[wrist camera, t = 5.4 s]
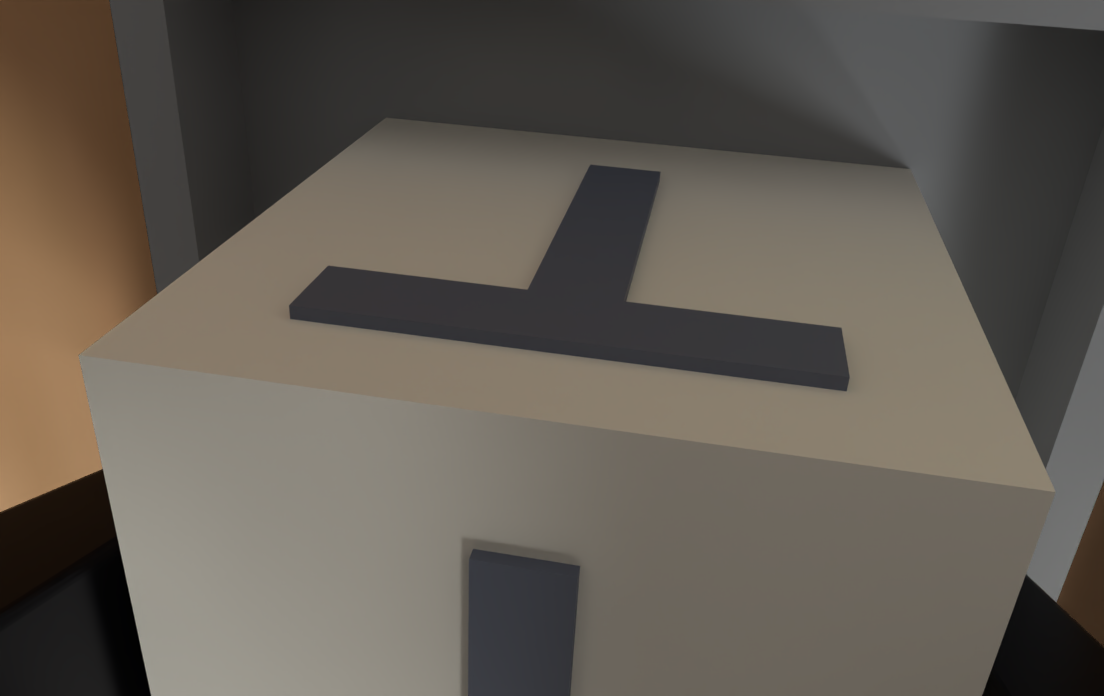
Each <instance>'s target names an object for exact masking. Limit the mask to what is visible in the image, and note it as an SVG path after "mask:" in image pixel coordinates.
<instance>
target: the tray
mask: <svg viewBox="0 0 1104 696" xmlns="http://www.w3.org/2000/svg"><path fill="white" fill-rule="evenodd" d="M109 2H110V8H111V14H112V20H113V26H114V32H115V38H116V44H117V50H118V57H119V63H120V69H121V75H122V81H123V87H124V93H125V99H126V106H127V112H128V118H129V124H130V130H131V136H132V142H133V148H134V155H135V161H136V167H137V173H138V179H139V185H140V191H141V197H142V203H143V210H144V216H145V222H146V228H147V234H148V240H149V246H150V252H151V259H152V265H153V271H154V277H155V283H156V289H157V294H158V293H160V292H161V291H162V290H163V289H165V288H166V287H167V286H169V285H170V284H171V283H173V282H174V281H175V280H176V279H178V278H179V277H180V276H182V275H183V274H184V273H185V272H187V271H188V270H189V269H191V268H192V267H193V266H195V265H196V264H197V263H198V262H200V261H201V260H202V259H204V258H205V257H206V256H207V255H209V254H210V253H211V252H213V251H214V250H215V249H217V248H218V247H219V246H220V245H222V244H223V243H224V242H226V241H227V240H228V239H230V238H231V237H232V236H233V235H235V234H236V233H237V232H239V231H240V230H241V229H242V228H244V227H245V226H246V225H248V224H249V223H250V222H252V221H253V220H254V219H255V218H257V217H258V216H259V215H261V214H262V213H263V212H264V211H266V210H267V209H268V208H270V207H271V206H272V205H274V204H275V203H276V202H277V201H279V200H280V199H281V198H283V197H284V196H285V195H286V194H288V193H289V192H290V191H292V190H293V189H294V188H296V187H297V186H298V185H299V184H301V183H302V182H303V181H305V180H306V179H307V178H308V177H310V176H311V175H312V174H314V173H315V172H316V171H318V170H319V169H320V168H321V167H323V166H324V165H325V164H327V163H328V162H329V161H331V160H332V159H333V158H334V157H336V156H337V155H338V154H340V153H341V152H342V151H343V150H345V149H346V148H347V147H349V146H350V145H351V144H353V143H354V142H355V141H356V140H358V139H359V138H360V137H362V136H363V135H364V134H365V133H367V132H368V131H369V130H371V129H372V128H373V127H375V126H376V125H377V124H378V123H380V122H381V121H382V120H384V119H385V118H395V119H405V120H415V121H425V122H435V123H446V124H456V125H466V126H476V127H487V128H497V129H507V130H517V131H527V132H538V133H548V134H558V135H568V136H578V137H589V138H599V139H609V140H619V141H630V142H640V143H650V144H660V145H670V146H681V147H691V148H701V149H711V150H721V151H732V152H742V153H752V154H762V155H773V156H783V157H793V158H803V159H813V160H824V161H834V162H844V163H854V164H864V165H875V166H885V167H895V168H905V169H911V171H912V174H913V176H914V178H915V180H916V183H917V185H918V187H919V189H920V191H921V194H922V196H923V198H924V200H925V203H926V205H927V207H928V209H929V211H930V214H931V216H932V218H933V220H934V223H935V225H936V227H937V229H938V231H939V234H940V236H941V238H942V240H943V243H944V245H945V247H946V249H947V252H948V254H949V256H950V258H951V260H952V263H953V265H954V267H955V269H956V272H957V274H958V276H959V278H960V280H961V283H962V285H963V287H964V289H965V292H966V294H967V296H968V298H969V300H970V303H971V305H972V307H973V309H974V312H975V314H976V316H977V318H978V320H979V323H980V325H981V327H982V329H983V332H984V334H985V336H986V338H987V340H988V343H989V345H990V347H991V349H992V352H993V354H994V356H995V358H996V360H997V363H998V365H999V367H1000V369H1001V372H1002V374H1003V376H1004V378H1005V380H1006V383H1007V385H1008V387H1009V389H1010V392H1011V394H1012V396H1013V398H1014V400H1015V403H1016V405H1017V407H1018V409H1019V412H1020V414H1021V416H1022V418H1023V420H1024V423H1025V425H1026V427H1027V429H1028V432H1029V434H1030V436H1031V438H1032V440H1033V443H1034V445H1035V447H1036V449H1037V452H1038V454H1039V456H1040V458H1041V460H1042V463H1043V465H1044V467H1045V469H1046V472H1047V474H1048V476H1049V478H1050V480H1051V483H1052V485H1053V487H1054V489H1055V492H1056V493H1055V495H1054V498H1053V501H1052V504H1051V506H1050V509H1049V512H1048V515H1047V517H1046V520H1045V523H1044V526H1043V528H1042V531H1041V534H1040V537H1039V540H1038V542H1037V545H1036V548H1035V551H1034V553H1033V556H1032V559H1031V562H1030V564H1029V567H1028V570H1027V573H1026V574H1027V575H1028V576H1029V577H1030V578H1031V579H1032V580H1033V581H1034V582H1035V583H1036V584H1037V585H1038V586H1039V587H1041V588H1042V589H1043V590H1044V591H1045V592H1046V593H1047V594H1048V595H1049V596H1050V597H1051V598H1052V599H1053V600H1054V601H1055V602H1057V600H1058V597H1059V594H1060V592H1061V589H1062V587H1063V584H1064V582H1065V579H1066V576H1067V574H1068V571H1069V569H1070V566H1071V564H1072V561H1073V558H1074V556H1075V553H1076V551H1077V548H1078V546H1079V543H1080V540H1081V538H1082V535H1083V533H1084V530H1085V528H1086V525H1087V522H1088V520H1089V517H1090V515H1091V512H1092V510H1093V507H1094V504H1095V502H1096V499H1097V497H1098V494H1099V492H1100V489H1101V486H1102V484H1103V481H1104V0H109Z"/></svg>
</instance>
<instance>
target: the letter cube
mask: <svg viewBox="0 0 1104 696" xmlns="http://www.w3.org/2000/svg"><path fill="white" fill-rule="evenodd" d="M79 360H80V364H81V369H82V374H83V378H84V383H85V388H86V392H87V397H88V402H89V407H90V411H91V416H92V421H93V425H94V430H95V435H96V439H97V444H98V449H99V453H100V458H101V463H102V468H103V472H104V477H105V482H106V486H107V491H108V496H109V500H110V505H111V510H112V514H113V519H114V524H115V528H116V533H117V538H118V543H119V547H120V552H121V557H122V561H123V566H124V571H125V575H126V580H127V585H128V589H129V594H130V599H131V603H132V608H133V613H134V618H135V622H136V627H137V632H138V636H139V641H140V646H141V650H142V655H143V660H144V664H145V669H146V674H147V678H148V683H149V688H150V693H151V696H982V694H983V692H984V689H985V686H986V683H987V680H988V678H989V675H990V672H991V669H992V667H993V664H994V661H995V658H996V656H997V653H998V650H999V647H1000V645H1001V642H1002V639H1003V636H1004V633H1005V631H1006V628H1007V625H1008V622H1009V620H1010V617H1011V614H1012V611H1013V609H1014V606H1015V603H1016V600H1017V598H1018V595H1019V592H1020V589H1021V587H1022V584H1023V581H1024V578H1025V575H1026V573H1027V570H1028V567H1029V564H1030V562H1031V559H1032V556H1033V553H1034V551H1035V548H1036V545H1037V542H1038V540H1039V537H1040V534H1041V531H1042V528H1043V526H1044V523H1045V520H1046V517H1047V515H1048V512H1049V509H1050V506H1051V504H1052V501H1053V498H1054V495H1055V493H1056V492H1055V489H1054V487H1053V485H1052V483H1051V480H1050V478H1049V476H1048V474H1047V472H1046V469H1045V467H1044V465H1043V463H1042V460H1041V458H1040V456H1039V454H1038V452H1037V449H1036V447H1035V445H1034V443H1033V440H1032V438H1031V436H1030V434H1029V432H1028V429H1027V427H1026V425H1025V423H1024V420H1023V418H1022V416H1021V414H1020V412H1019V409H1018V407H1017V405H1016V403H1015V400H1014V398H1013V396H1012V394H1011V392H1010V389H1009V387H1008V385H1007V383H1006V380H1005V378H1004V376H1003V374H1002V372H1001V369H1000V367H999V365H998V363H997V360H996V358H995V356H994V354H993V352H992V349H991V347H990V345H989V343H988V340H987V338H986V336H985V334H984V332H983V329H982V327H981V325H980V323H979V320H978V318H977V316H976V314H975V312H974V309H973V307H972V305H971V303H970V300H969V298H968V296H967V294H966V292H965V289H964V287H963V285H962V283H961V280H960V278H959V276H958V274H957V272H956V269H955V267H954V265H953V263H952V260H951V258H950V256H949V254H948V252H947V249H946V247H945V245H944V243H943V240H942V238H941V236H940V234H939V231H938V229H937V227H936V225H935V223H934V220H933V218H932V216H931V214H930V211H929V209H928V207H927V205H926V203H925V200H924V198H923V196H922V194H921V191H920V189H919V187H918V185H917V183H916V180H915V178H914V176H913V174H912V171H911V169H905V168H895V167H885V166H875V165H864V164H854V163H844V162H834V161H824V160H813V159H803V158H793V157H783V156H773V155H762V154H752V153H742V152H732V151H721V150H711V149H701V148H691V147H681V146H670V145H660V144H650V143H640V142H630V141H619V140H609V139H599V138H589V137H578V136H568V135H558V134H548V133H538V132H527V131H517V130H507V129H497V128H487V127H476V126H466V125H456V124H446V123H435V122H425V121H415V120H405V119H395V118H385V119H384V120H382V121H381V122H380V123H378V124H377V125H376V126H375V127H373V128H372V129H371V130H369V131H368V132H367V133H365V134H364V135H363V136H362V137H360V138H359V139H358V140H356V141H355V142H354V143H353V144H351V145H350V146H349V147H347V148H346V149H345V150H343V151H342V152H341V153H340V154H338V155H337V156H336V157H334V158H333V159H332V160H331V161H329V162H328V163H327V164H325V165H324V166H323V167H321V168H320V169H319V170H318V171H316V172H315V173H314V174H312V175H311V176H310V177H308V178H307V179H306V180H305V181H303V182H302V183H301V184H299V185H298V186H297V187H296V188H294V189H293V190H292V191H290V192H289V193H288V194H286V195H285V196H284V197H283V198H281V199H280V200H279V201H277V202H276V203H275V204H274V205H272V206H271V207H270V208H268V209H267V210H266V211H264V212H263V213H262V214H261V215H259V216H258V217H257V218H255V219H254V220H253V221H252V222H250V223H249V224H248V225H246V226H245V227H244V228H242V229H241V230H240V231H239V232H237V233H236V234H235V235H233V236H232V237H231V238H230V239H228V240H227V241H226V242H224V243H223V244H222V245H220V246H219V247H218V248H217V249H215V250H214V251H213V252H211V253H210V254H209V255H207V256H206V257H205V258H204V259H202V260H201V261H200V262H198V263H197V264H196V265H195V266H193V267H192V268H191V269H189V270H188V271H187V272H185V273H184V274H183V275H182V276H180V277H179V278H178V279H176V280H175V281H174V282H173V283H171V284H170V285H169V286H167V287H166V288H165V289H163V290H162V291H161V292H160V293H158V294H157V295H156V296H154V297H153V298H152V299H151V300H149V301H148V302H147V303H145V304H144V305H143V306H141V307H140V308H139V309H138V310H136V311H135V312H134V313H132V314H131V315H130V316H128V317H127V318H126V319H125V320H123V321H122V322H121V323H119V324H118V325H117V326H116V327H114V328H113V329H112V330H110V331H109V332H108V333H106V334H105V335H104V336H103V337H101V338H100V339H99V340H97V341H96V342H95V343H94V344H92V345H91V346H90V347H88V348H87V349H86V350H84V351H83V352H82V353H81V354H79Z"/></svg>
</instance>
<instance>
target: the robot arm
mask: <svg viewBox="0 0 1104 696" xmlns="http://www.w3.org/2000/svg"><path fill="white" fill-rule="evenodd" d="M0 696H151V693H150V688H149V683H148V678H147V674H146V669H145V664H144V660H143V655H142V650H141V646H140V641H139V636H138V632H137V627H136V622H135V618H134V613H133V608H132V603H131V599H130V594H129V589H128V585H127V580H126V575H125V571H124V566H123V561H122V557H121V552H120V547H119V543H118V538H117V533H116V528H115V524H114V519H113V514H112V510H111V505H110V500H109V496H108V491H107V486H106V482H105V477H104V472H103V469H102V470H99V471H97V472H94V473H92V474H90V475H87V476H85V477H83V478H80V479H78V480H75V481H73V482H71V483H68V484H66V485H64V486H61V487H59V488H57V489H54V490H52V491H49V492H47V493H45V494H42V495H40V496H38V497H35V498H33V499H30V500H28V501H26V502H23V503H21V504H19V505H16V506H14V507H12V508H9V509H7V510H4V511H2V512H0ZM982 696H1104V647H1103V646H1102V645H1101V644H1100V643H1099V642H1098V641H1097V640H1096V639H1094V638H1093V637H1092V636H1091V635H1090V634H1089V633H1088V632H1087V631H1086V630H1085V629H1084V628H1083V627H1082V626H1081V625H1080V624H1079V623H1078V622H1076V621H1075V620H1074V619H1073V618H1072V617H1071V616H1070V615H1069V614H1068V613H1067V612H1066V611H1065V610H1064V609H1063V608H1062V607H1061V606H1060V605H1059V604H1057V603H1056V602H1055V601H1054V600H1053V599H1052V598H1051V597H1050V596H1049V595H1048V594H1047V593H1046V592H1045V591H1044V590H1043V589H1042V588H1041V587H1039V586H1038V585H1037V584H1036V583H1035V582H1034V581H1033V580H1032V579H1031V578H1030V577H1029V576H1028V575H1027V574H1026V575H1025V578H1024V581H1023V584H1022V587H1021V589H1020V592H1019V595H1018V598H1017V600H1016V603H1015V606H1014V609H1013V611H1012V614H1011V617H1010V620H1009V622H1008V625H1007V628H1006V631H1005V633H1004V636H1003V639H1002V642H1001V645H1000V647H999V650H998V653H997V656H996V658H995V661H994V664H993V667H992V669H991V672H990V675H989V678H988V680H987V683H986V686H985V689H984V692H983V694H982Z"/></svg>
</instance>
